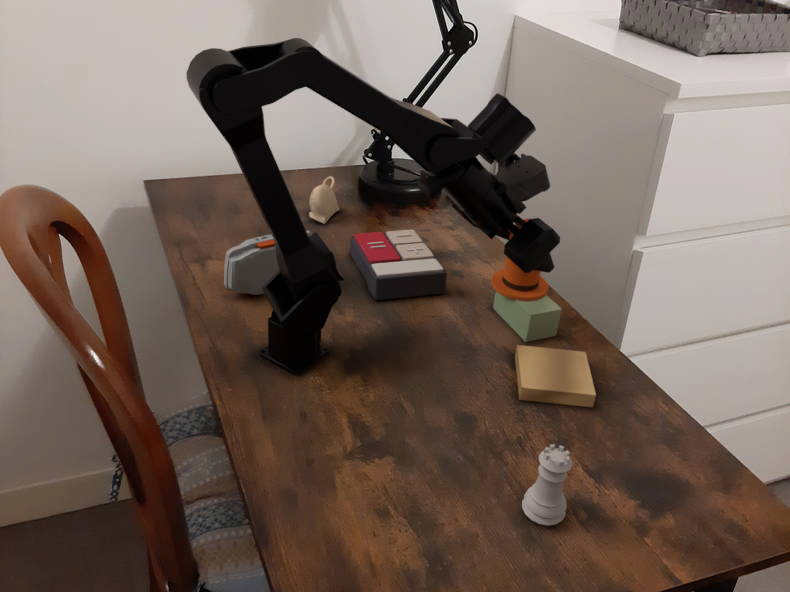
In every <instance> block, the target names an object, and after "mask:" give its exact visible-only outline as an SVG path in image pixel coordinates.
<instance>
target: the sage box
mask: <svg viewBox="0 0 790 592" xmlns="http://www.w3.org/2000/svg"><path fill="white" fill-rule="evenodd" d="M492 310H494V311H495V312H496V313H497V314H498V315H499V316H500V317H501V318H502V320H504V321H505V323H506V324H508V326H509V327H510V328H511V329H512V330H513V331H514V332H515V333H516V334H517V335H518V336H519V337H520V338H521V339H522V340H523V341H524V342H525V343H529V342H533V341H538V340H544V339H549V338H553V337H556V336H557V333H558V328H559V324H560V319H561V315H562V311H563V309H562V307H561V306H560V305H558V304H557V303H556V302H555V301H554V300H553V299H552V298H550V296H548V294H546V295H545V296H544V297H543V298H541V299H538V300H533V301H520V300H514V299H511V298H508V297H505V296H503V295H501V294H499V293H498V292H497V291H495V294H494V299H493V306H492Z"/></svg>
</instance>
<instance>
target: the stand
mask: <svg viewBox="0 0 790 592" xmlns="http://www.w3.org/2000/svg"><path fill="white" fill-rule="evenodd" d="M514 363H515V373H516V382H517V391H518V392H517V393H518V400H519V401H526V402H535V403H544V404H555V405H565V406H573V407H584V408H594V404H595V401H596V398H597V393H596V388H595V385H594V380H593V376H592V372H591V367H590V364H589V359H588V356H587V352H586V351H581V350H572V349H571V350H570V349H561V348H552V347H551V348H550V347H542V346H533V345H523V344H522V345H521V344H517V345H516V347H515V354H514Z"/></svg>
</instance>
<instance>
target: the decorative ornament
mask: <svg viewBox="0 0 790 592" xmlns="http://www.w3.org/2000/svg"><path fill="white" fill-rule="evenodd" d="M330 180H331V184H330V185H327V183H328V181H330ZM335 184H336V180H335V177H334V176H332V175H331V176H330V175H329V176H327V177H325V179H324V180H323V182H322V184H320V185H317V186H316V187H314V188H313V190H312V191H311V193H310V196H309V204H308V206H309V210H310V212H309V213H308V217H309V218H310V219H312V220H315V221H317V222H318V223H321V224H323V225H325V224H326V223H327V222H328V221H329V219H331V217H332V216H333V215H334V214H335V213H337V212H338V211H340V207H339V205H338V200H337V197H336V195H335V192H334V187H335Z"/></svg>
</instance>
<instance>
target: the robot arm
mask: <svg viewBox="0 0 790 592" xmlns="http://www.w3.org/2000/svg"><path fill="white" fill-rule="evenodd" d="M186 81H187V84H188V87H189V90H190V91H191V92H192V94H193V95H194V97H195V99H196V100H197V102H198V103H199V104H200V106H201V108H202V109H203V111H204V112H205V113H206V115H207V116H208V117H209V119H210V120H211V122H212V123H213V125H214V126H215V128H216V129H217V130H218V131H219V133H220V134H221V136H222V138H224V140H225V141H226V143H227V144H228V145H229V147H230V150H231V151H232V154H233V156H234V158H235V160H236V162H237V164H238V167H239V168H240V170H241V173H242V175H243V177H244V179H245V181H246V183H247V187H248V188H249V191H250V193H251V194H252V197H253V198H254V201H255V203H256V205H257V207H258V210H259V211H260V214H261V215H262V217H263V220H264V221H265V224H266V226H267V228H268V231H269V232H270V235H272V237H273V239H274V242H275V249H276V259H277V263H278V267H279V271H278V272H277V273H276V274H275V275H274V276H273V277H272V278H271V279H270V280H269V281H268V282H267V283H266V284H265V285H264V286H263V291H264V293H265V294H264V296H265V297H266V299H267V302H269V304H270V306H271V308H272V310H271V313H270V315H271V316H270V317H268V318H267V342H268V345H267V346H266V347H264V348H262V349H261V350H259V356H261V357H262V358H263V359H266V360H267V361H269V362H270V363H272V364H274V365H276V366H278V367H280V368H281V369H283V370H285V371H287V372H289V373H291V374H293V375H299V374H300V373H302V372H304V371H305V370H307V369H308V368H309V367H311V366H313V365H314V364H315V363H316V362H318V361H320V360H321V359H322V358H324V357H326V356H327V355H329V353H330V349H329V348H328V347H326V346H324V345H322V344H321V343H322V330H323V329H324V328H325V325H326V322H327V320H328V319H329V315H330V313H331V311H332V308H333V307H334V305H335V304H336V303H337V302H338V300H339V298H340V297H341V296H342V291H343V289H342V285H341V282H344V281H345V277H344V276H343V275H342V273H341V272H340V270H339V269H338V268H337V263H336V257H335V255H334V253H333V251H332V250H331V248H330V247H329V246H328V244H327V243H326V242H325V240H324V238H323V237H322V236H321V235H320V233H319V232H318V231H315V232H314V233H312V235H311V236H309V237H308V234H307V232H306V228H305V225H304V223H303V221H302V219H301V216H300V214H299V211H298V209H297V207H296V205H295V202H294V200H293V198H292V195H291V193H290V191H289V188H288V186H287V184H286V181H285V179H284V177H283V175H282V171H281V169H280V168H279V165H278V163H277V160H276V158H275V156H274V154H273V151H272V149H271V147H270V144H269V142H268V140H267V135H266V128H265V115H264V110H263V107H265V106H268V105H272V104H274V103H277V102H278V101H280V100H281V99H283V98H285V97H287V96H288V95H290V94H291V93H294V92H295V91H297V90H300V89H303V88H307V89H309V90H310V91H313V92H314V93H316V94H318V95H319V96H321V97H322V98H324V99H325V100H327V101H329V102H331V103H332V104H335V105H336V106H338V107H339V108H341V109H342V110H344V111H345V112H348V113H349V114H351V115H352V116H354V117H356V118H358V119H360V120H361V121H362V122H364V123H366V124H367V125H369V126H371V127H373V128H374V129H376V130H378V131H379V132H381V133H383V134H384V135H385V136H386V137H387V138H388V139H389V140H390V141H392V142H393V143H394V144H395V145H396V146H397V147H398V148H399V149H400V150H401V151H403V153H405V154H406V155H407V156H408V157H409V158H411V160H413V161H414V162H415V163H417V164H418V165H419V167H421V168H422V170H420V172H419V174H420V177H419V179H418V184H417V187H418V189H419V190H420V191H422V193H424V194H425V196H426V197H428V198H429V199H431V200H433V199H434V198H436V196H437V195H438V194H439V193H441V192H442V191H443V193H445V195H446V196H448V197H449V198H450V200H451V201H452V202H451V208H452V209H454V211H456V212H457V214H458V215H460V216H461V217H462V218H463V219H464V220H465V221H466V222H468V223H469V224H470V225H472V226H473V227H474V228H477V229H478V230H480V232H482V233H483V234H484V235H485V236H487V237H488V238H489V239H490V240H493V239H494V238H495V237H496V236H497V237H499V238H502V239H504V240H507V242H505V244H504V248H503V255H505V257H506V256H507V257H508V258H509V259H510V260H511V261H512V262H513V263H514V264H515V265H516V266H517V267H518V268H520V269H521V270H522V271H523V272H524V273H529V272H531V271H532V270H536V271H541V272H542V273H547V274H549V273H551V272H552V271H553V270H554V269H555V264H554V261H553V258H552V254H551V253H552V251H554V249H555V248H556V247H557V246H558V245H559V244H560V243H561V235H559V234H558V233H557V232H556V231H555V229H554V228H553V227H551V226H550V225H549V224H547V223H546V222H545V221H544V220H542V219H541V218H540V217H534V218H528V219H529V220H528V221H527V222H526V221H524V220H523V219H524V218H522V217H521V216H520V214H522V213H523V212H524V211H525V210H526V209H527V205H526V204H525V203H524V202H526V201H529V200H531V199H532V198H534V197H535V196H537V195H540V194H541V193H545V192H547V191H548V190H549V189H550V188H551V181H550V179H549V174H548V170H547V166H546V164H544V162H541V161H540V160H539V159H537V158H536V157H534V155H533V156H532V155H526V154H525V153H520V156H519V155H518V154H517V153H516V151H517V150H518V149H519V148H521V146H523V144H524V143H526V141H527V140H529V139H530V137H531V136H532V135H533V134H534V133H535V132H536V131H537V128H536V126H535V125H534V123H533V121H532V120H531V119H530V117H528V116H526V115H524V114H523V112H521V111H520V110H519V109H518V108H517V107H516V106H515V105H513V104H512V103H511V102H510V100H509V99H508V98H507V96H504V95H503V94H501V93H499V92H497V93H495V94H494V95H493V97H492V98H491V99H490V100H489V101H488V102H487V104H486V106H485V107H484V108H483V109H482V110H480V112H479V113H478V114H477V115H476V116H475V117H474V118H473V119H472V120H471V122H469V123H468V124H465V123H463V122H462V121H461V120H459V119H457V118H450V117H449V118H448V117H439V116H438V115H437V114H435V113H434V112H432V111H431V110H428V109H425V108H423V107H420V106H418V105H415V104H412V103H410V102H407V101H402V100H399V99H396V98H393V97H391V96H390V95H387V94H386V93H385V92H383V91H381V90H379V89H378V88H377V87H375V86H374V85H372V84H370V83H368V82H367V81H366V80H364V79H363V78H361V77H359V76H358V75H356V74H355V73H353V72H352V71H350V70H349V69H347V68H345V67H343V66H342V65H341V64H339V63H337V62H335V61H334V60H332V59H331V58H330V57H328V56H327V55H324V54H323V53H322V52H321V51H320V50H319V49H317V48H316V47H315V46H313V45H312V44H311V43H310V42H308V41H307V40H306V39H303V38H301V37H293V38H290V39H286V40H283V41H278V42H275V43H265V44H257V45H247V46H241V47H238V48H234V49H230V50H225V49H222V48H217V47H215V48H214V47H211V48H207V49H203V50H202V51H200V52H198V53H197V54H196V55H194V57H193V58H192V59H191V60H190V61H189V65H188V67H187V70H186ZM478 156H480V158H482V159H483V160H484V161H485V162H487V164H489V165H493V163H495V162H496V163H497V171H496V173H495V174H493V173H492V171H489V170H488V169H487V168H486V167H485V166H484V164H483V163H482V162H481V161H480V160H479V159H478ZM515 224H516V225H518V226H519V227H520V228H521V229H519V228H518V227H517V226H516V225H515ZM510 233H512V234H513V235H514V236H513V237H512V238H511V239H510V240H509V238H510Z"/></svg>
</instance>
